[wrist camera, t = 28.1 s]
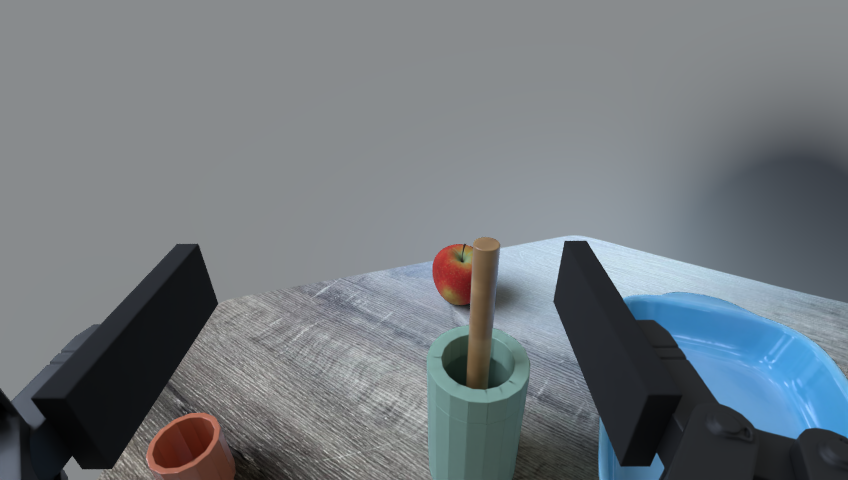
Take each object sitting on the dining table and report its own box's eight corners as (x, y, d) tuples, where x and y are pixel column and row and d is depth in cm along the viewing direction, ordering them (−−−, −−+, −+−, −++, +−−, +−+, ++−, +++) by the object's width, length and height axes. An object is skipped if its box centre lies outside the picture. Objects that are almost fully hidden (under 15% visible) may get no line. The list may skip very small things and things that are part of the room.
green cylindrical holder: (411, 473, 41) (406, 370, 34) (457, 411, 47) (460, 312, 39) (488, 526, 37) (500, 422, 29) (527, 451, 42) (546, 349, 35)
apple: (470, 277, 68) (473, 222, 63) (497, 307, 61) (503, 248, 56) (423, 290, 65) (422, 233, 60) (447, 323, 59) (448, 263, 54)
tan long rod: (446, 461, 41) (449, 247, 28) (465, 432, 43) (476, 225, 31) (479, 482, 39) (498, 264, 27) (497, 451, 41) (522, 239, 29)
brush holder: (156, 488, 40) (133, 449, 37) (214, 440, 44) (197, 402, 41) (190, 526, 37) (167, 488, 34) (248, 471, 41) (233, 432, 38)
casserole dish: (1009, 844, 23) (1119, 823, 19) (574, 645, 30) (593, 603, 26) (788, 358, 52) (815, 313, 49) (595, 316, 59) (605, 274, 56)
